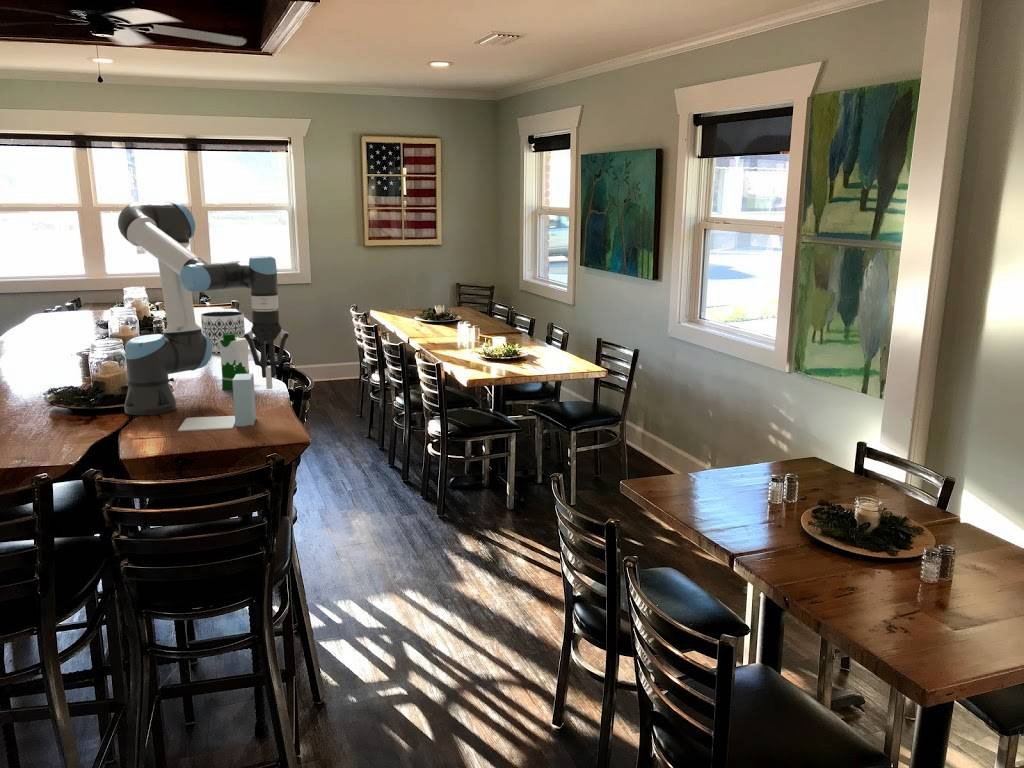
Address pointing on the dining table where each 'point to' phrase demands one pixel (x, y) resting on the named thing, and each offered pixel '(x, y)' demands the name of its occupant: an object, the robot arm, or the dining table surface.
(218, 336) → the planter
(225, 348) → the milk carton
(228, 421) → the mat
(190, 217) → the robot arm
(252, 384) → the slab
